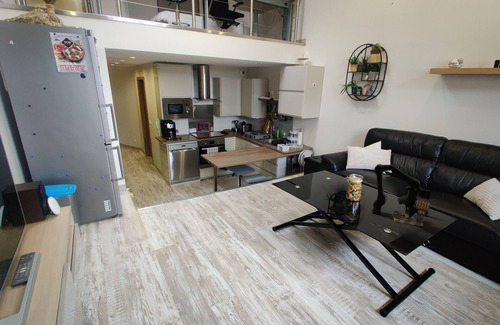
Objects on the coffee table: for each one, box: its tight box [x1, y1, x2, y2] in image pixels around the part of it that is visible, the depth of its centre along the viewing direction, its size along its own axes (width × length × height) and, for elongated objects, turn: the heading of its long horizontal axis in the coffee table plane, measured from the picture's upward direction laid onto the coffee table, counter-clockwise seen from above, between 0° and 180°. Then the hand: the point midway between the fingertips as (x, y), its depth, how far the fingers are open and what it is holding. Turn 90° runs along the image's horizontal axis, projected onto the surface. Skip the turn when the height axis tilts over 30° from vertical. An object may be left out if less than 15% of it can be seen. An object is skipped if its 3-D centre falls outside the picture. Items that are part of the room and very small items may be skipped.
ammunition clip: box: [414, 198, 431, 218], centre depth 191 cm, size 11×2×12 cm, turn 42°
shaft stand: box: [391, 210, 424, 227], centre depth 182 cm, size 18×10×6 cm, turn 70°
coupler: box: [402, 210, 414, 220], centre depth 181 cm, size 5×6×5 cm
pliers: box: [369, 221, 399, 238], centre depth 169 cm, size 10×1×20 cm
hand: (408, 215), depth 181 cm, fingers open, 9 cm apart
